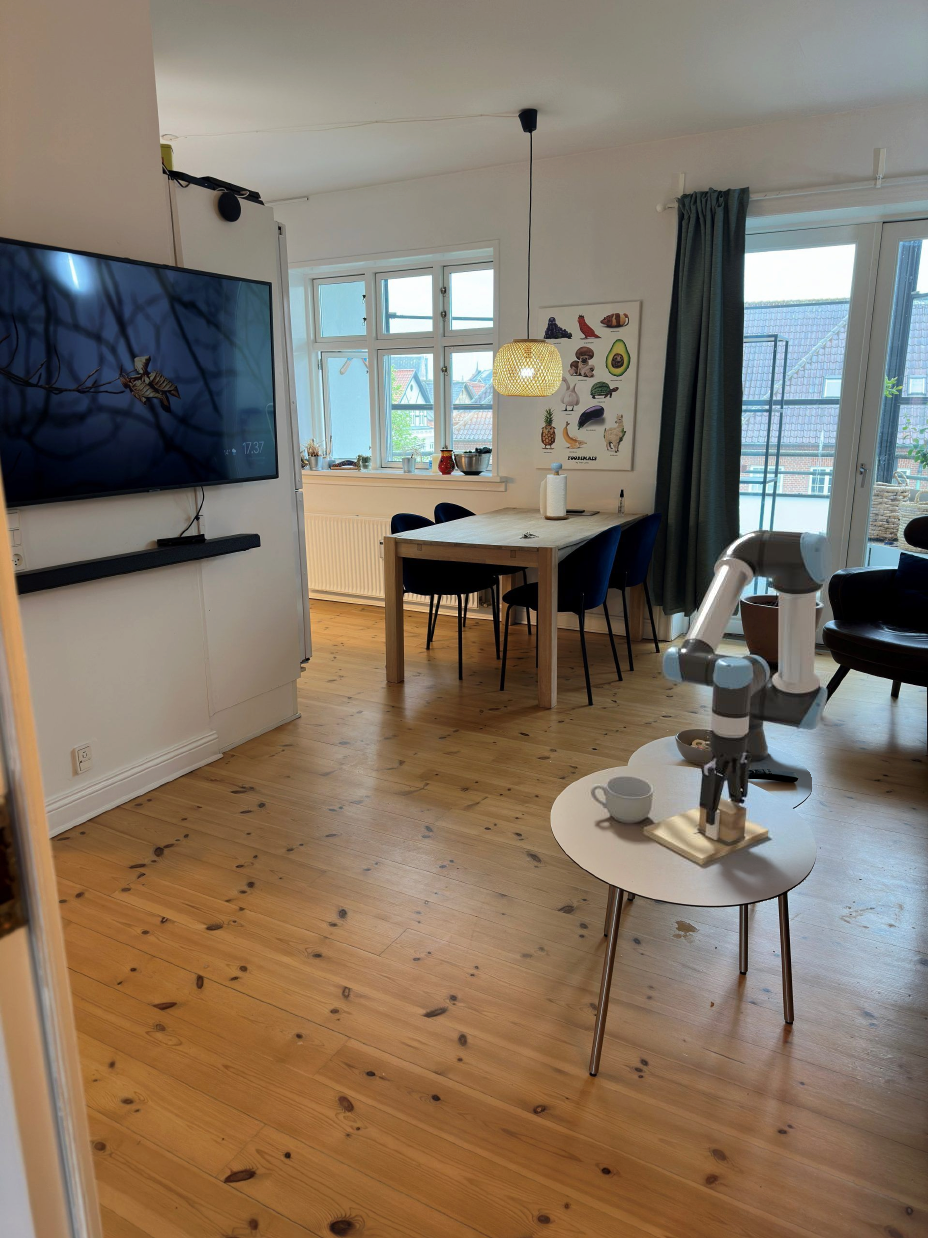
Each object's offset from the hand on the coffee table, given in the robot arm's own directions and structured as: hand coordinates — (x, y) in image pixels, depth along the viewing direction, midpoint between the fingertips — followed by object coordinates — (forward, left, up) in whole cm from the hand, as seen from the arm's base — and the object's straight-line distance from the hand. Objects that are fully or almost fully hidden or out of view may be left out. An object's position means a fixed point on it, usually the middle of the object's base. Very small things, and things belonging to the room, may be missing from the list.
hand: (721, 833), depth 175 cm
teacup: (+9, -21, -2) cm, 23 cm away
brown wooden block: (0, 0, 0) cm, 0 cm away
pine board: (0, -4, -2) cm, 5 cm away
